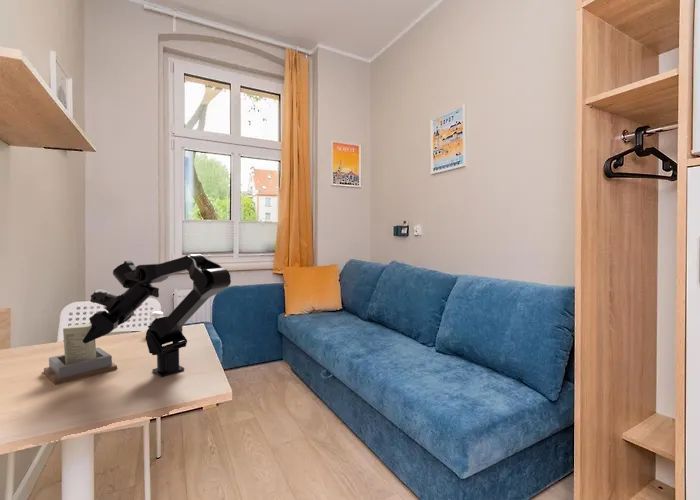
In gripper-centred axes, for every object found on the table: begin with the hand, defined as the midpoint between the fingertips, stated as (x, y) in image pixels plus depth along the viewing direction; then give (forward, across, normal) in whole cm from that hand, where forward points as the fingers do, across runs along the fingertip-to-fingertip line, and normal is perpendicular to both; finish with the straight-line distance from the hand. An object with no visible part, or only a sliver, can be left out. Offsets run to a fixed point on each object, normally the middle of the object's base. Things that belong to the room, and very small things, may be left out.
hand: (91, 337), depth 100 cm
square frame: (+8, 0, +4) cm, 9 cm away
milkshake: (0, -35, +14) cm, 38 cm away
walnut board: (+9, 0, +5) cm, 10 cm away
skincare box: (+8, 0, +4) cm, 9 cm away
